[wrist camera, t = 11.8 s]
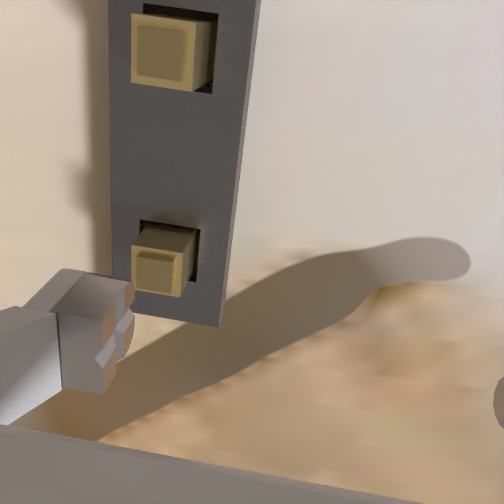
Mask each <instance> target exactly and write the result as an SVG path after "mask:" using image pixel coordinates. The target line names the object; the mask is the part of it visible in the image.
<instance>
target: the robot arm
mask: <svg viewBox="0 0 504 504" xmlns="http://www.w3.org/2000/svg"><path fill="white" fill-rule="evenodd" d="M134 299H135V285H134V283H133V281H131V280H126V279H121V278H116V277H110V276H105V275H100V274H95V273H90V272H88V273H87V272H85V271H79V270H73V269H67V268H66V269H61V270H60V271H59V272H58V273H57V274H55V275H54V276H53V277H52V278H51V279H50V280H49V281H48V282H47V283H46V284H45V285H44V286H43V287H42V288H41V289H40V290H39V291H38V292H37V293H36V294H35V295H34V296H33V297H32V298H31V299H30V300H29V301H28V302H27V303H26V304H25V305H24V306H23V307H18V306H14V307H11V308H8V309H5V310H2V311H0V504H423V503H418V502H413V501H407V500H402V499H396V498H391V497H386V496H380V495H375V494H370V493H364V492H359V491H354V490H348V489H343V488H337V487H332V486H327V485H321V484H316V483H311V482H305V481H300V480H295V479H289V478H284V477H278V476H273V475H268V474H262V473H257V472H252V471H246V470H241V469H236V468H230V467H225V466H220V465H214V464H209V463H204V462H198V461H193V460H188V459H183V458H177V457H172V456H167V455H161V454H156V453H151V452H145V451H140V450H135V449H129V448H124V447H119V446H114V445H108V444H103V443H98V442H92V441H87V440H82V439H76V438H71V437H66V436H60V435H55V434H50V433H44V432H39V431H34V430H28V429H23V428H18V427H12V426H7V425H8V424H10V423H12V422H13V421H15V420H16V419H18V418H19V417H21V416H22V415H24V414H25V413H27V412H28V411H30V410H31V409H33V408H35V407H36V406H38V405H39V404H41V403H43V402H44V401H46V400H47V399H49V398H50V397H52V396H53V395H55V394H56V393H58V392H59V391H61V390H62V388H67V389H73V390H80V391H87V392H93V393H99V394H104V392H105V391H106V389H107V387H108V385H109V383H110V382H111V380H112V378H113V376H114V375H115V373H116V361H118V360H120V359H122V358H124V357H125V355H126V353H127V351H128V349H129V346H130V343H131V340H132V337H133V331H134V323H135V315H134V314H133V312H132V311H131V309H130V308H129V307H130V306H131V304H132V302H133V301H134ZM493 407H494V412H495V416H496V418H497V420H498V423H499V425H500V426H502V427H503V428H504V377H503V378H501V379H500V380H499V382H498V385H497V387H496V389H495V391H494V401H493Z"/></svg>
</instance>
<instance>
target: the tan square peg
mask: <svg viewBox="0 0 504 504" xmlns="http://www.w3.org/2000/svg"><path fill="white" fill-rule="evenodd" d="M216 32H217V22H213V21H206V20H199V19H192V18H185V17H178V16H171V15H164V14H140V13H131V83H137V84H144V85H150V86H157V87H163V88H170V89H176V90H183V91H190V92H192V91H194V90H196V89H197V88H199V87H201V86H202V85H204V84H206V83H207V82H209V81H211V80H212V79H213V68H214V56H215V44H216Z"/></svg>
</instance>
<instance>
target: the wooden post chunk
mask: <svg viewBox="0 0 504 504" xmlns="http://www.w3.org/2000/svg"><path fill="white" fill-rule="evenodd" d="M200 232H201V229H196V228H190V227H184V226H178V225H172V224H166V223H160V222H154V221H150V222H149V224H148V225H147V226H146V227H145V229H144V230H143V231H142V232H141V234H140V235H139V236H138V237H137V239H136V240H135V241H134V242H133V244H132V245H131V281H133V283H134V285H135V290H138V291H144V292H150V293H156V294H162V295H168V296H174V297H181V295H182V293H183V291H184V289H185V286H186V284H187V282H188V280H189V278H190V276H191V274H192V272H193V269H194V267H195V265H196V263H197V261H198V256H199V244H200Z"/></svg>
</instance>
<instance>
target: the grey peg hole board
mask: <svg viewBox="0 0 504 504" xmlns="http://www.w3.org/2000/svg"><path fill="white" fill-rule="evenodd" d="M260 3H261V0H109V68H110V137H111V206H112V275H113V277H116V278H121V279H126V280H131V245H132V244H133V242H134V241H135V240H136V239H137V237H138V236H139V235H140V234H141V232H142V231H143V230H144V229H145V227H146V226H147V225H148V224H149V222H150V221H154V222H160V223H166V224H172V225H178V226H184V227H190V228H196V229H201V232H200V244H199V256H198V265H195V267H194V269H193V272H192V274H191V276H190V278H189V280H188V282H187V284H186V286H185V289H184V291H183V293H182V295H181V297H174V296H168V295H162V294H156V293H150V292H144V291H138V290H135V299H134V301H133V302H132V304H131V306H130V307H129V308H130V309H131V311H132V312H133V313H139V314H145V315H151V316H156V317H162V318H168V319H173V320H179V321H185V322H191V323H197V324H202V325H208V326H214V327H219V324H220V320H221V317H222V314H223V310H224V303H225V295H226V287H227V279H228V270H229V262H230V254H231V245H232V237H233V229H234V220H235V212H236V204H237V195H238V187H239V178H240V170H241V162H242V153H243V145H244V137H245V128H246V120H247V112H248V103H249V95H250V87H251V78H252V70H253V61H254V53H255V45H256V36H257V28H258V20H259V11H260ZM156 5H162V6H169V7H176V8H183V9H190V10H197V11H204V12H211V13H218V14H219V17H218V29H217V41H216V53H215V65H214V77H213V88H211V87H205V86H201V87H199V88H197V89H196V90H194V91H192V92H190V91H183V90H176V89H170V88H163V87H157V86H150V85H144V84H137V83H131V13H140V14H156Z"/></svg>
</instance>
